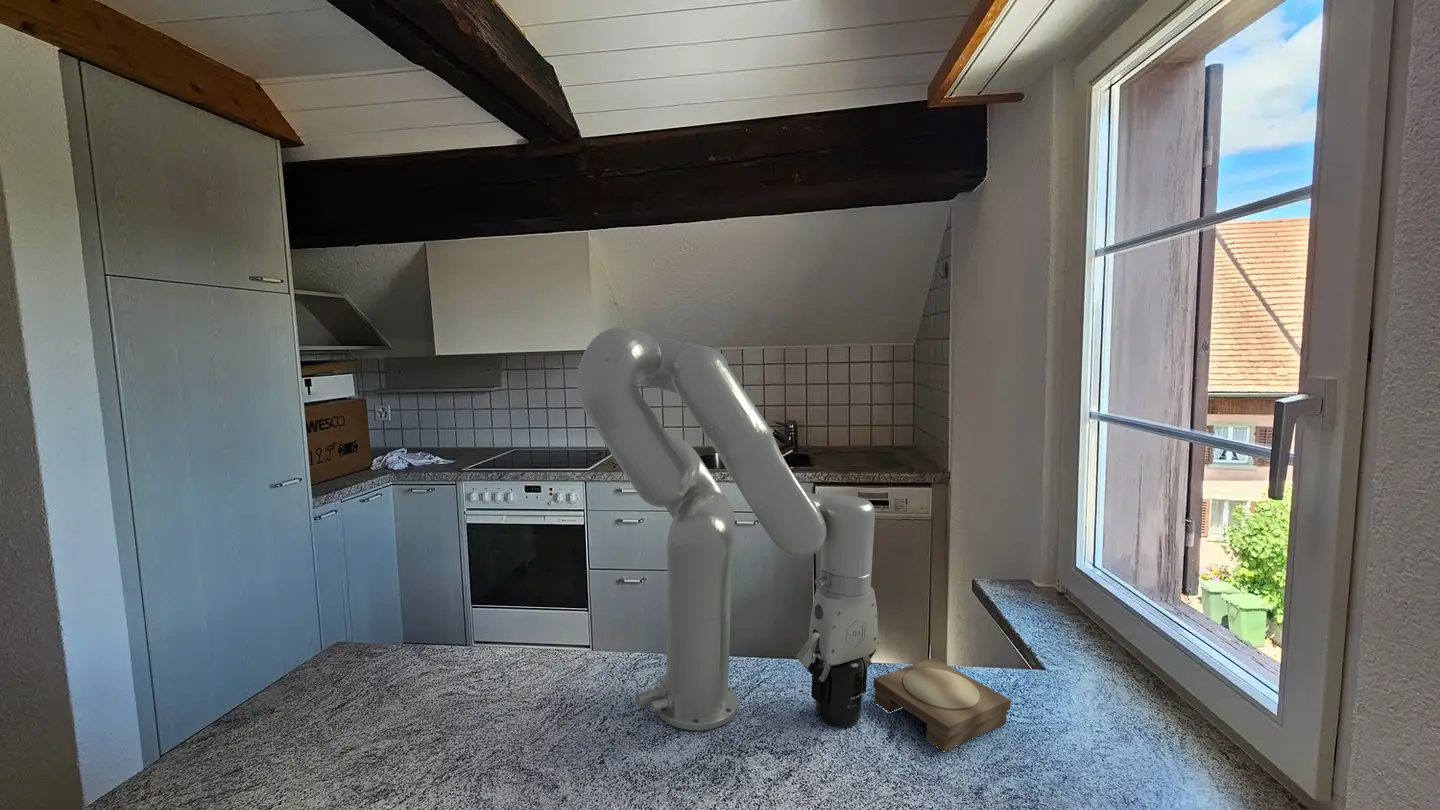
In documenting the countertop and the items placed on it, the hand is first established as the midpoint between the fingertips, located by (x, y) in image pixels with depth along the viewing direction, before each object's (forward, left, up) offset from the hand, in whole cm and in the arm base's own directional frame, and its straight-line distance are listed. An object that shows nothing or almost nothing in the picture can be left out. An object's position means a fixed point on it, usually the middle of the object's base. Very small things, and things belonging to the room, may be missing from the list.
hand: (838, 694), depth 89 cm
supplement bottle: (0, 0, -3) cm, 3 cm away
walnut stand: (+14, -7, -3) cm, 16 cm away
